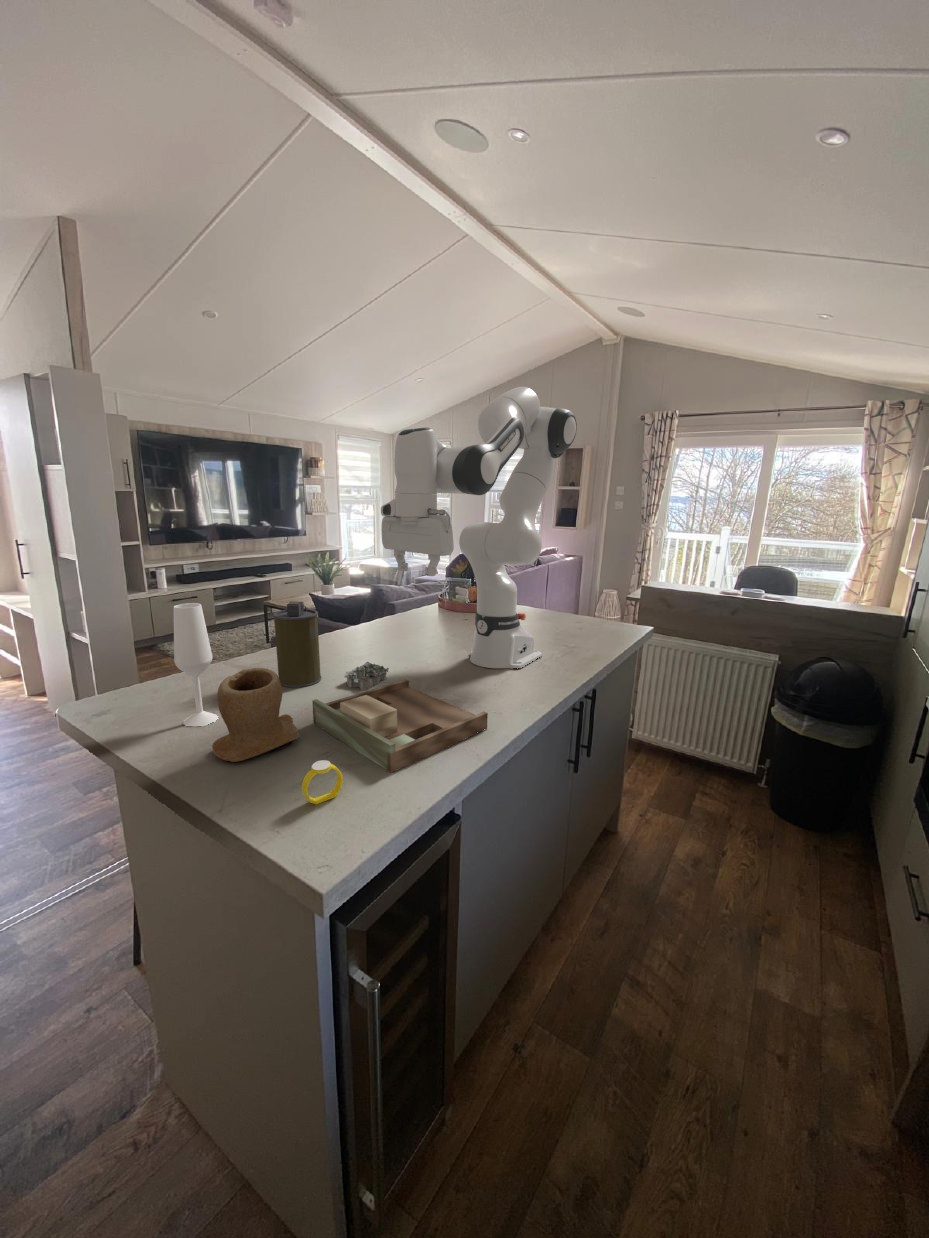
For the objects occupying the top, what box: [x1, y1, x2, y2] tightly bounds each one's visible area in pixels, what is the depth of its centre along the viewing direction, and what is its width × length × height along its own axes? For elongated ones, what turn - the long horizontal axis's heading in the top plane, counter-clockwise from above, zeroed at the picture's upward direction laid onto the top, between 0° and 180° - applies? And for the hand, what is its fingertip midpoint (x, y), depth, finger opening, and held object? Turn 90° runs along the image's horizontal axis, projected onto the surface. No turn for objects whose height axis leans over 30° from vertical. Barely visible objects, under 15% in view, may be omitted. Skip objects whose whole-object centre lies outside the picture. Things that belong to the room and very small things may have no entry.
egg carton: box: [343, 661, 390, 691], centre depth 125 cm, size 11×8×4 cm
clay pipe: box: [211, 667, 300, 763], centre depth 89 cm, size 15×12×15 cm
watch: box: [301, 759, 344, 805], centre depth 75 cm, size 6×3×6 cm, turn 129°
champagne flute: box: [173, 602, 219, 727], centre depth 99 cm, size 7×7×24 cm
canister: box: [272, 600, 322, 689], centre depth 123 cm, size 11×10×20 cm
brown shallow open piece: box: [312, 679, 489, 773], centre depth 100 cm, size 24×26×5 cm
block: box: [340, 695, 397, 737], centre depth 95 cm, size 6×10×4 cm, turn 45°
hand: (416, 573), depth 108 cm, fingers open, 8 cm apart
